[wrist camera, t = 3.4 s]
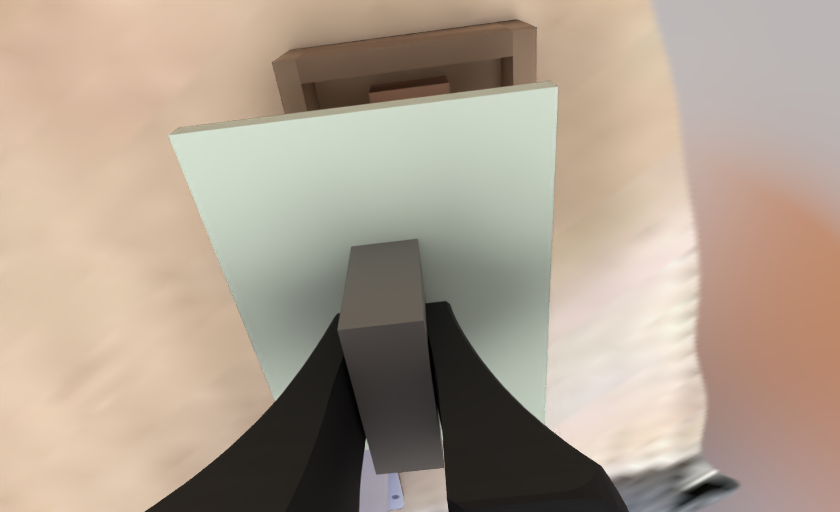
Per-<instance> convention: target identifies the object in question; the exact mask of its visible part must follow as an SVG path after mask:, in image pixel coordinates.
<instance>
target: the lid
mask: <svg viewBox="0 0 840 512" xmlns="http://www.w3.org/2000/svg"><path fill="white" fill-rule="evenodd" d="M557 103H558V86H557V85H555V84H554V83H553V82H552V81H546V82H538V83H530V84H523V85H515V86H507V87H499V88H491V89H483V90H475V91H467V92H459V93H451V94H443V95H435V96H427V97H419V98H411V99H403V100H395V101H387V102H379V103H371V104H363V105H355V106H347V107H339V108H331V109H323V110H315V111H307V112H299V113H291V114H283V115H275V116H267V117H259V118H252V119H244V120H236V121H228V122H220V123H212V124H204V125H196V126H188V127H180V128H177V129H176V130H175V131H173V132H172V133H171V134H169V135H168V136H169V139H170V141H171V144H172V146H173V149H174V151H175V154H176V156H177V159H178V161H179V164H180V166H181V169H182V171H183V174H184V176H185V179H186V181H187V184H188V186H189V188H190V191H191V193H192V196H193V198H194V201H195V203H196V206H197V208H198V211H199V213H200V216H201V218H202V221H203V223H204V226H205V228H206V231H207V233H208V236H209V238H210V241H211V243H212V246H213V248H214V251H215V253H216V256H217V258H218V261H219V263H220V266H221V268H222V271H223V273H224V276H225V278H226V281H227V283H228V286H229V288H230V291H231V293H232V296H233V298H234V301H235V303H236V306H237V308H238V311H239V313H240V316H241V318H242V321H243V323H244V326H245V328H246V331H247V333H248V336H249V338H250V341H251V343H252V346H253V348H254V350H255V353H256V355H257V358H258V360H259V363H260V365H261V368H262V370H263V373H264V375H265V378H266V380H267V383H268V385H269V388H270V390H271V393H272V395H273V398H274V400H275V401H276V400H277V399H278V397H279V396H280V395H281V394H282V393H283V391H284V390H285V389H286V388H287V386H288V385H289V384H290V382H291V381H292V380H293V378H294V377H295V376H296V375H297V373H298V372H299V371H300V369H301V368H302V366H303V365H304V364H305V362H306V361H307V359H308V358H309V356H310V355H311V353H312V352H313V350H314V349H315V347H316V346H317V344H318V343H319V341H320V340H321V338H322V336H323V335H324V333H325V332H326V330H327V328H328V327H329V325H330V323H331V322H332V320H333V318H334V317H335V316H336V314H337V313H340V317H339V323H338V329H337V331H338V334H339V338H340V342H341V346H342V349H343V353H344V357H345V361H346V364H347V368H348V372H349V375H350V379H351V383H352V387H353V390H354V394H355V398H356V402H357V405H358V409H359V413H360V416H361V420H362V424H363V428H364V431H365V435H366V443H365V450H368V449H369V450H370V454H371V457H372V461H373V465H374V469H375V472H376V475H380V474H389V473H399V472H408V471H418V470H427V469H437V468H444V459H443V448H442V442H443V435H442V428H441V423H440V418H439V413H438V407H437V400H436V393H435V385H434V378H433V371H432V363H431V356H430V348H429V341H428V334H427V324H426V306H425V303H432V302H441V301H447V302H448V303H450V305H451V308H452V311H453V313H454V316H455V318H456V320H457V322H458V324H459V325H460V327H461V329H462V331H463V332H464V334H465V336H466V337H467V339H468V340H469V342H470V343H471V345H472V346H473V348H474V349H475V351H476V352H477V354H478V355H479V357H480V358H481V359H482V361H483V362H484V363H485V364H486V366H487V367H488V368H489V370H490V371H491V372H492V373H493V374H494V376H495V377H496V378H497V379H498V380H499V382H500V383H501V384H502V385H503V386H504V387H505V388H506V389H507V390H508V391H509V392H510V393H511V394H512V395H513V396H514V397H515V398H516V399H517V400H518V401H519V402H520V403H521V404H522V405H523V406H524V407H525V408H526V409H527V410H528V411H529V412H530V413H532V414H533V415H534V416H535V417H536V418H537V419H538V420H540V421H541V422H542V423H543V424H544V425H545V401H546V376H547V351H548V326H549V302H550V277H551V252H552V227H553V202H554V178H555V153H556V128H557Z"/></svg>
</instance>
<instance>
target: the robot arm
mask: <svg viewBox="0 0 840 512" xmlns="http://www.w3.org/2000/svg"><path fill="white" fill-rule="evenodd" d="M425 306H426V324H427V334H428V341H429V348H430V356H431V363H432V371H433V378H434V385H435V393H436V400H437V407H438V413H439V418H440V423H441V428H442V435H443V448H444V462H445V476H446V491H447V502H448V509H449V512H629V511H628V509H627V506H626V505H625V503H624V501H623V499H622V498H621V496H620V494H619V492H618V491H617V489H616V487H615V486H614V484H613V482H612V481H611V479H610V478H609V476H608V475H607V474H606V472H605V471H604V469H603V468H602V466H600V465H599V464H597V463H596V462H594V461H593V460H591V459H590V458H588V457H587V456H585V455H584V454H582V453H581V452H579V451H578V450H577V449H575V448H574V447H572V446H571V445H569V444H568V443H567V442H565V441H564V440H563V439H562V438H560V437H559V436H558V435H556V434H555V433H554V432H552V431H551V430H550V429H549V428H548V427H546V426H545V425H544V424H543V423H542V422H541V421H540V420H538V419H537V418H536V417H535V416H534V415H533V414H532V413H530V412H529V411H528V410H527V409H526V408H525V407H524V406H523V405H522V404H521V403H520V402H519V401H518V400H517V399H516V398H515V397H514V396H513V395H512V394H511V393H510V392H509V391H508V390H507V389H506V388H505V387H504V386H503V385H502V384H501V383H500V382H499V380H498V379H497V378H496V377H495V376H494V374H493V373H492V372H491V371H490V370H489V368H488V367H487V366H486V364H485V363H484V362H483V361H482V359H481V358H480V357H479V355H478V354H477V352H476V351H475V349H474V348H473V346H472V345H471V343H470V342H469V340H468V339H467V337H466V336H465V334H464V332H463V331H462V329H461V327H460V325H459V324H458V322H457V320H456V318H455V316H454V313H453V311H452V308H451V305H450V303H448V302H447V301H441V302H432V303H425ZM339 317H340V313H337V314H336V316H335V317H334V318H333V320H332V322H331V323H330V325H329V327H328V328H327V330H326V332H325V333H324V335H323V336H322V338H321V340H320V341H319V343H318V344H317V346H316V347H315V349H314V350H313V352H312V353H311V355H310V356H309V358H308V359H307V361H306V362H305V364H304V365H303V366H302V368H301V369H300V371H299V372H298V373H297V375H296V376H295V377H294V378H293V380H292V381H291V382H290V384H289V385H288V386H287V388H286V389H285V390H284V391H283V393H282V394H281V395H280V396H279V397H278V399H277V400H276V401H275V402H274V403H273V404H272V406H271V407H270V408H269V409H268V410H267V411H266V412H265V413H264V414H263V415H262V417H261V418H260V419H259V420H258V421H257V422H256V423H255V424H254V425H253V426H252V427H251V428H250V429H249V430H248V431H246V432H245V433H244V434H243V435H242V436H241V437H240V438H239V439H238V440H237V441H236V442H235V443H234V444H233V445H232V446H231V447H229V448H228V449H227V450H226V451H225V452H224V453H223V454H221V455H220V456H219V457H218V458H217V459H215V460H214V461H213V462H212V463H211V464H209V465H208V466H207V467H206V468H204V469H203V470H202V471H201V472H199V473H198V474H197V475H196V476H194V477H193V478H192V479H190V480H189V481H188V482H186V483H185V484H184V485H182V486H181V487H179V488H178V489H176V490H175V491H174V492H172V493H171V494H169V495H168V496H167V497H165V498H164V499H162V500H161V501H160V502H158V503H157V504H155V505H154V506H152V507H151V508H149V509H148V510H146V511H145V512H390V510H393V509H400V508H402V507H403V506H404V497H403V492H402V488H401V484H400V479H399V475H398V473H389V474H380V475H376V472H375V469H374V465H373V461H372V457H371V454H370V450H369V449H368V450H365V443H366V435H365V431H364V428H363V424H362V420H361V416H360V413H359V409H358V405H357V402H356V398H355V394H354V390H353V387H352V383H351V379H350V375H349V372H348V368H347V364H346V361H345V357H344V353H343V349H342V346H341V342H340V338H339V334H338V331H337V329H338V323H339Z"/></svg>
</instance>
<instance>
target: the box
mask: <svg viewBox="0 0 840 512" xmlns="http://www.w3.org/2000/svg"><path fill="white" fill-rule="evenodd" d="M536 37H537V27H534V26H532V25H529V24H527V23H525V22H522V21H520V20H511V21H503V22H496V23H488V24H481V25H473V26H466V27H458V28H451V29H443V30H436V31H428V32H421V33H413V34H406V35H398V36H391V37H383V38H376V39H368V40H361V41H353V42H346V43H339V44H331V45H324V46H316V47H309V48H301V49H294V50H289V51H287V52H286V53H285V54H283V55H282V56H280V57H279V58H278V59H276V60H275V61H273V62H272V65H273V69H274V73H275V77H276V81H277V84H278V88H279V92H280V96H281V100H282V103H283V107H284V111H285V114H291V113H299V112H307V111H315V110H323V109H331V108H339V107H347V106H355V105H363V104H371V103H379V102H387V101H395V100H403V99H411V98H419V97H427V96H435V95H443V94H451V93H459V92H467V91H475V90H483V89H491V88H499V87H507V86H515V85H523V84H530V83H536Z"/></svg>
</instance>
